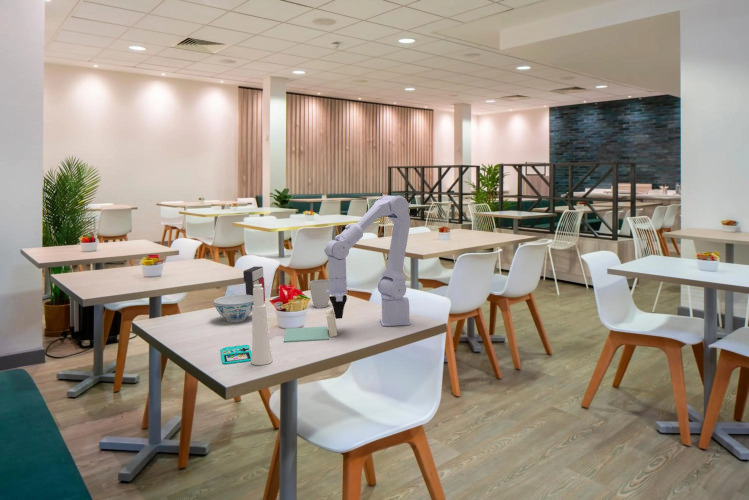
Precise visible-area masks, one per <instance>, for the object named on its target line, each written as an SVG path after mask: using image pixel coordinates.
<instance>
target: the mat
mask: <svg viewBox="0 0 749 500" xmlns="http://www.w3.org/2000/svg"><path fill="white" fill-rule="evenodd" d="M328 340H330V336H329V329H328V325H327V326H326V325H325V326H312V327H309V326H308V327H296V328H295V327H294V328H293V327H292V328H291V327H290V328H285V332H284V337H283V343H293V342H295V343H299V342H310V341H311V342H312V341H328Z"/></svg>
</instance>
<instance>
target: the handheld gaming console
mask: <svg viewBox="0 0 749 500" xmlns="http://www.w3.org/2000/svg"><path fill="white" fill-rule="evenodd" d="M246 355H247V357H248V358H241V357H246ZM220 356H221V362H222V364H223V365H225V366H226V365H233V364H242V363H249V362H250V363H251V357H252V350H251V348H250V344H241V345H240V344H239V345H232V346H226V347H222V348H221V349H220ZM226 356H227V357H226ZM239 357H240V358H239ZM230 358H231V359H232V360H228V359H230Z"/></svg>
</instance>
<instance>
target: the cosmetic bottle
mask: <svg viewBox="0 0 749 500" xmlns="http://www.w3.org/2000/svg"><path fill="white" fill-rule="evenodd" d="M253 300H254V305H253V306H252V312H251V313H252V314H251V318H252V319H251V320H252V321H251V322H252V323H251V325H252V328H251V330H252V332H251V333H252V337H251V338H252V339H251V342H252V343H251V345H252V346H251V349H252V350H251V353H252V357H251V361H250V363H251V364H252V365H254V366H265V365H268V364H269V365H270V364H271V363H273V361H274V359H273V354H272V350H271V344H270V335H269V334H270V333H269V324H268V315H267V306H266V304H265V302H264V295H263V288H262V284H255V285H254V288H253Z"/></svg>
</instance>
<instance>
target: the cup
mask: <svg viewBox="0 0 749 500" xmlns="http://www.w3.org/2000/svg"><path fill="white" fill-rule="evenodd" d="M309 289H310V295H311V296H310V297H311V301H312V303H313V306H314V308H316V309H322V308H326V307H328V305H329V301H330V298H329V297H330V295H331V294H326V291H327V290H329V279H315V280H314V279H313V280H310V281H309Z"/></svg>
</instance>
